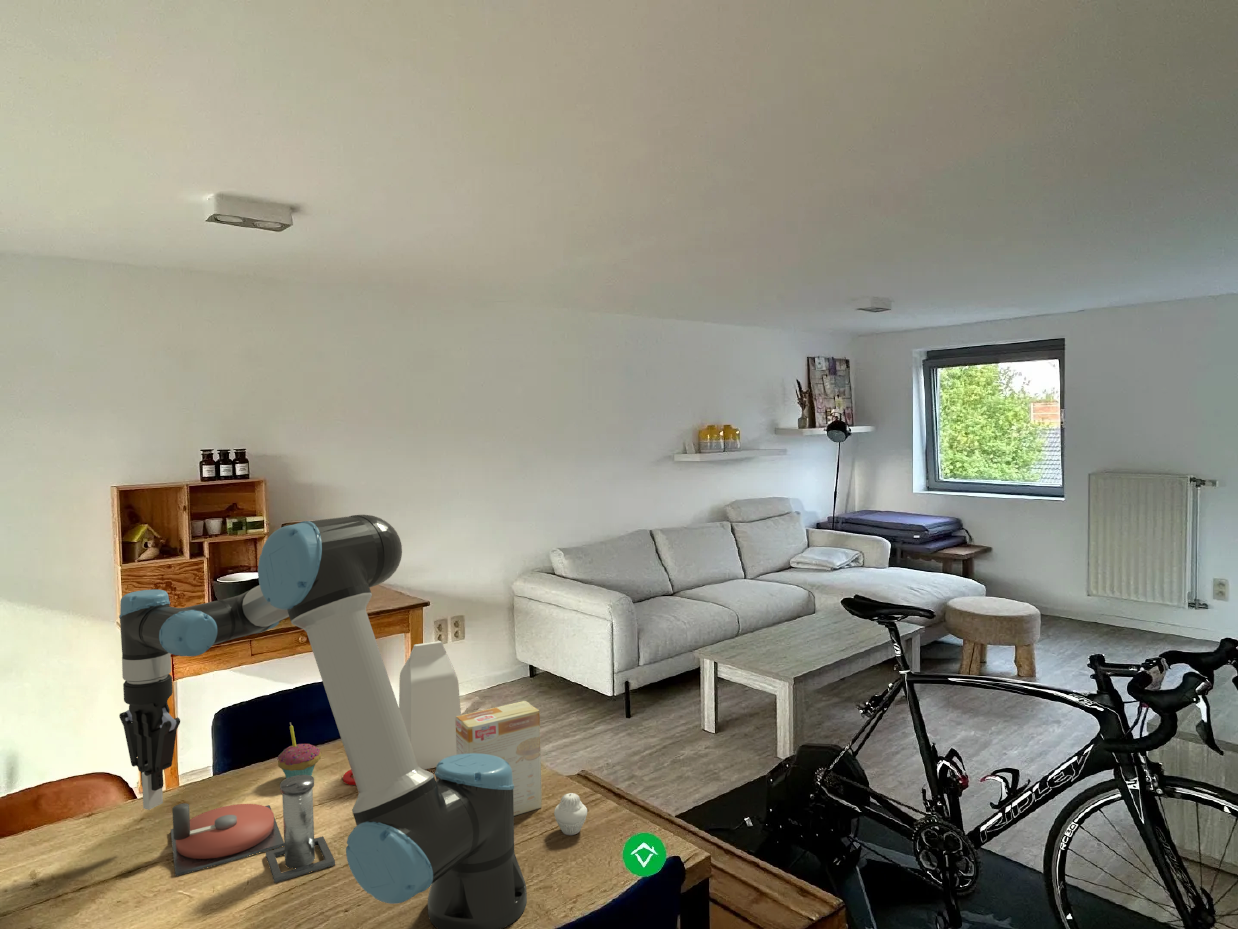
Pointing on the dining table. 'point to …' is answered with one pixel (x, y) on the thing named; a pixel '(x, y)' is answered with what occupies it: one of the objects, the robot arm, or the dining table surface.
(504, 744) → the coffeecake box
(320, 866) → the grey flat square frame
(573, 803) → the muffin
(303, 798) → the metal peg
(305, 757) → the cupcake
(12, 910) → the dining table surface
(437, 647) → the milk
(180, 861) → the wheel base
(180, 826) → the red disc with handle
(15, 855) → the dining table surface
